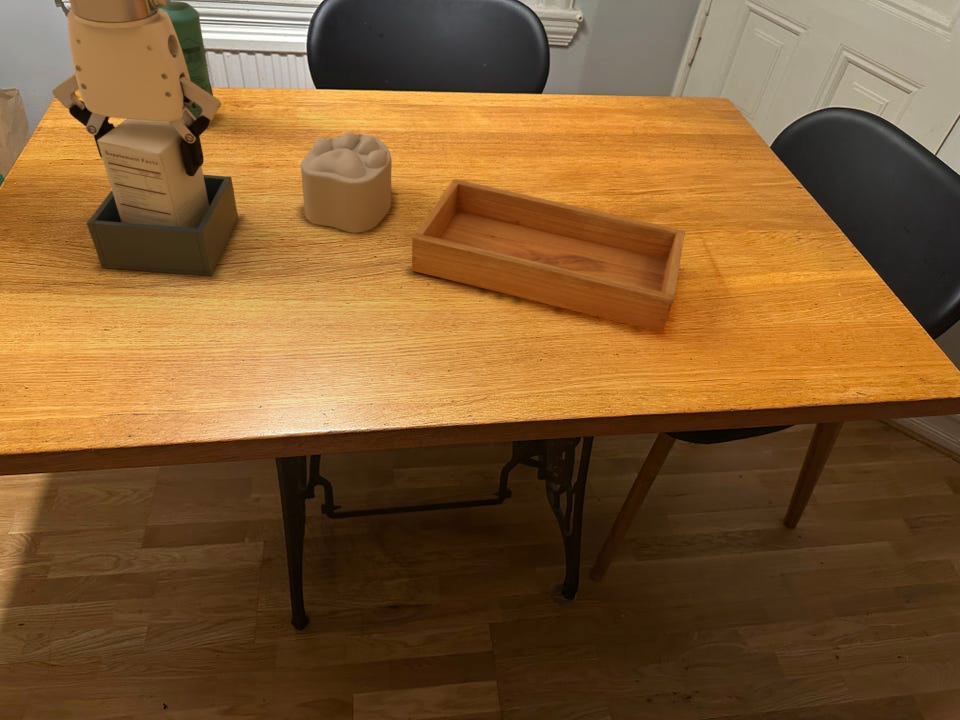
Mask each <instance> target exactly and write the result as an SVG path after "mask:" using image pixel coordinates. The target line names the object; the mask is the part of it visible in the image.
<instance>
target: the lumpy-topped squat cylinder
mask: <svg viewBox="0 0 960 720" xmlns="http://www.w3.org/2000/svg"><path fill="white" fill-rule="evenodd" d="M392 166H393V165H392V155H391V152H390V149H389V147H388V146H387V144H386V143H385V142H383V141H382V140H381V139H379V138H378V137H376V136H374V135H369V134H362V133H354V132H347V133H346V132H345V133H344V134H342V135H338V136H334V137H329V138H326V137H319V138H317V139H316V140H315V141H314V143H313V145H312V148H311V150H310V151H308V153H307V154H306V155H305V156H304V157H303V159H302V160H301V163H300V173H301V186H302V196H303V197H302V199H303V209H304V217H305V218H306V220H307V221H308V222H309V223H312V224H314V225H318V226H326V227H332V228H335V229H339V230H342V231H344V232H349V233H355V234H358V233H359V234H360V233H364V232H369V231H370V230H372V229H374V228H376V227H377V226H378V224H380V223H381V222H382V221H383V219H384V218H385V217H386V215H387V214H388V212H389V211H390V209H391V206H392V168H393V167H392Z"/></svg>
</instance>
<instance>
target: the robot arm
mask: <svg viewBox="0 0 960 720" xmlns="http://www.w3.org/2000/svg"><path fill="white" fill-rule="evenodd" d="M68 1H69V4H70V8H71V9H70V10H69V11H68V12H67V31H68V40H69V41H68V42H69V49H70V54H71V61H72V66H73V70H74V73H73V74H72V75H71V76H69V77H68V78H66V79H65V80H64V81H61V83H59V84H58V85H57V86H56V87H55V88H53V90H52V95H53V96H54V97H55V98H56V99H57V100H58V102H59V103H60V104H61V105H62V106H64V108H66V109H67V110H68V111H69V114H70V116H72V117H73V118H74V119H75V120H77V121H78V122H79V123H81V124H82V125H83V126H84V127H85V130H86V132H87V133H88V134H90V135H92V136H93V137H94V141H95V144H96V147H97V152H98V155H99V157H100V158H101V159H102V156H101V152H100V149H99V145H98V142H97V140H99V139H100V138H101V137H103V136H104V135H106V134H107V133H108V132H110V131H111V130H112V129H114V128H115V127H116V126H115V125H114V123H110V122H109V120H110V118H115V119H125V120H126V119H138V120H149V121H162V122H169V123H170V124H171V125H172V126H173V127H174V128H175V130H176V131H177V132H178V133H179V134H180V135H181V136H182V138H183V140H182V142H181V143H180V147H181V152H182V156H183V161H184V166H185V170H186V174H187V175H188V176H194V175H195V174H196V172H197V170H198V169H199V167H200V166H201V167H202V166H203V164H204V160H205V158H204V153H203V147H202V142H201V138H200V137H201V135H202V134H203V133H204V132H205V131H206V130H207V129H208V127H209V126H210V125H211V123H213V122H212V121H213V120H214V119H215V117H216V115H217V113H218V111H219V109H220V108H221V106H222V102H221V100H220V99H218V98H217V97H216V96H214V95H213V96H212V95H211V94H209V93H208V92H206V91H205V90H203V89H202V88H200V87H199V86H197V85H196V84H194V83H193V82H191V81H190V77H189V73H188V69H187V66H186V62H185V59H184V56H183V52H182V49H181V46H180V43H179V40H178V37H177V35H176V32H175V29H174V27H173V24H172V22H171V20H170V17H169V15H168V13H167V12H165V11H160V10H158V9H159V8H160V7H162V6H165V7H169V6H170V3H171V1H172V0H68ZM77 91H79V93H80V96H81V99H82V100H81V99H80V98H79V96H78V95H77V94H76V92H77ZM193 102H195V103H196V104H198V105H199V106H200V107H201V108H202V113H201V115H200V116H199V117H198V118H195V117H194V116H193V114H192V113H191V112H190V111H189V110H188V109H187V106H190V105H192V103H193Z"/></svg>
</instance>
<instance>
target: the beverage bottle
mask: <svg viewBox="0 0 960 720" xmlns="http://www.w3.org/2000/svg"><path fill="white" fill-rule="evenodd" d="M158 10H160V11H165V12H167V13H168V15H169V17H170V20H171V22H172V24H173V27H174V29H175V32H176V35H177V37H178V40H179V43H180V46H181V49H182V52H183V56H184V59H185V62H186V66H187V69H188V73H189V77H190V81H191V82H193V83H194V84H196V85H197V86H199V87H200V88H202V89H203V90H205V91H206V92H208V93H209V94H211V95H212V96H214V93H213V92H214V91H213V87H212V83H211V81H212V80H211V79H210V76H211V75H210V72H209V71H210V70H209V64H208V62H209V61H208V60H207V55H206V52H207V49H206V46H205V45H204V39H203V32H202V25H201V20H200V13H199V11H198V10H197V9H196V8H194V7H193V6H192V5H191V4H189V3H188V2H184V1H180V0H171V3H170V6H169V7H165V6H162V7H160V8H159V9H158ZM187 109H188V110H189V111H190V112H191V113H192V114H193V116H194V117H195V118H196V119H197V118H198V117H199V116H200V115H201V113H202V108H201V107H200V106H199V105H198V104H196V103H195V102H193V103H192V105H190V106H187Z"/></svg>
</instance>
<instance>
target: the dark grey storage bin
mask: <svg viewBox="0 0 960 720" xmlns="http://www.w3.org/2000/svg"><path fill="white" fill-rule="evenodd" d="M203 177H204V182H205V187H206V192H207V197H208V202H209V208H208V210H207V212H206V214H205V216H204V218H203V219H202V221H201V223H200V225H199V227H198V229H197V228H186V227H173V226H160V225H147V224H134V223H122V222H121V219H120V215H119V212H118V209H117V205H116V202H115V199H114V196H113V192H112V189H111V191H109V193H108V194H107V195H106V196H105V198H104V199H103V201H102V202H101V203H100V205H99V206H98V207H97V209H96V210H95V212H93V214H92V215H91V216H90V218H89V219H88V221H87V222H86V225H87V229H88V231H89V234H90V238H91V240H92V244H93V247H94V249H95V252H96V255H97V258H98V261H99V264H100V267H101V268H102V269H114V270H115V269H116V270H127V271H128V270H129V271H143V272H155V273H166V274H167V273H170V274H180V275H181V274H184V275H196V276H210V277H211V276H212V275H213V273H214V271H215V269H216V267H217V265H218V263H219V260H220V259H221V256H222V254H223V252H224V250H225V247H226V246H227V243H228V241H229V239H230V237H231V235H232V233H233V230H234V229H235V227H236V225H237V222H238V220H239V215H238V209H237V202H236V197H235V191H234V185H233V180H232V176H227V175H214V174H203Z"/></svg>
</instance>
